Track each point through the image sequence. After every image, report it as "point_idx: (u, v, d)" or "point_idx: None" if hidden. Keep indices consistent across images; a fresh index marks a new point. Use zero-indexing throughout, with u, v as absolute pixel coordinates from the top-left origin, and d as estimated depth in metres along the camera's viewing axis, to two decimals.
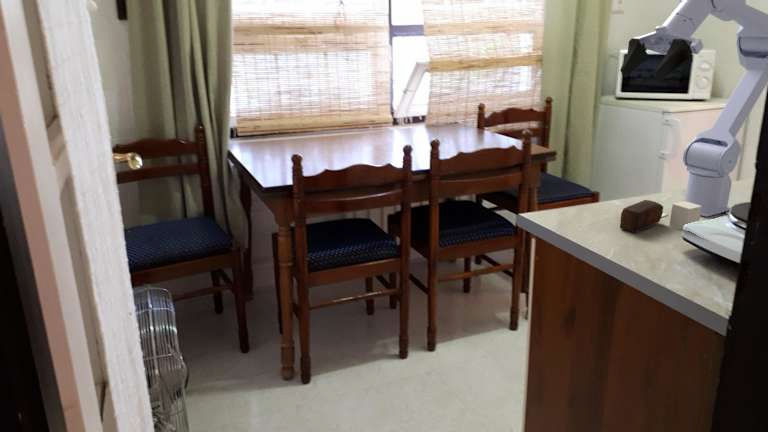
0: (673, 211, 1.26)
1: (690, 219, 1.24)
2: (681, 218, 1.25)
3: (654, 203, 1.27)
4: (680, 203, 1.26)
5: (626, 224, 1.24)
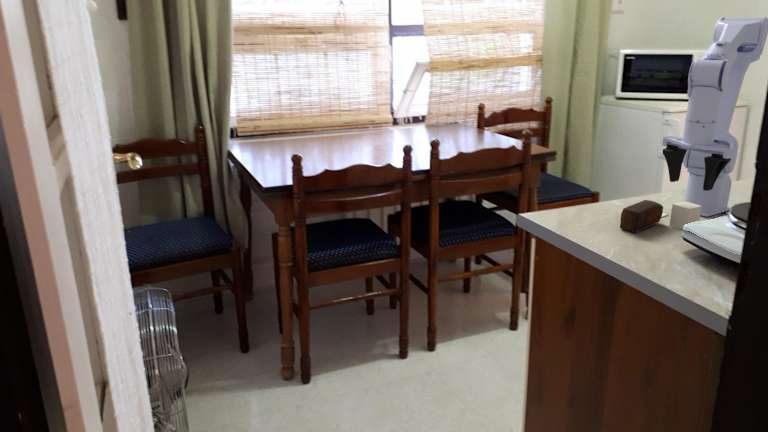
0: (673, 211, 1.26)
1: (690, 218, 1.24)
2: (681, 218, 1.25)
3: (654, 203, 1.27)
4: (680, 203, 1.26)
5: (626, 224, 1.24)
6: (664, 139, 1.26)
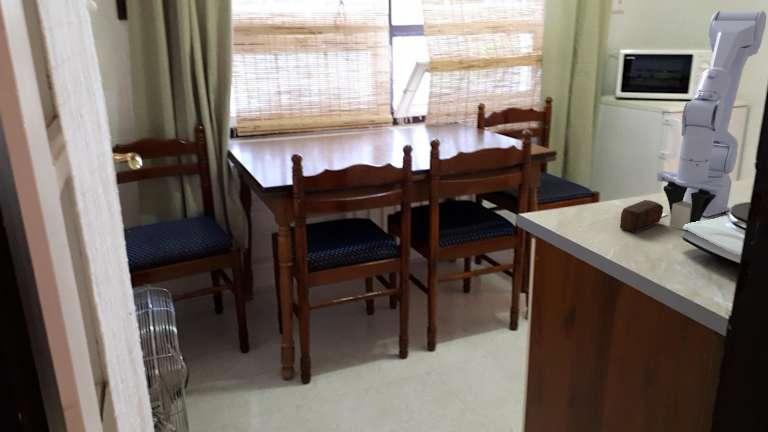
0: (673, 211, 1.26)
1: None
2: (681, 218, 1.25)
3: (654, 203, 1.27)
4: (680, 203, 1.26)
5: (626, 224, 1.24)
6: (659, 174, 1.29)
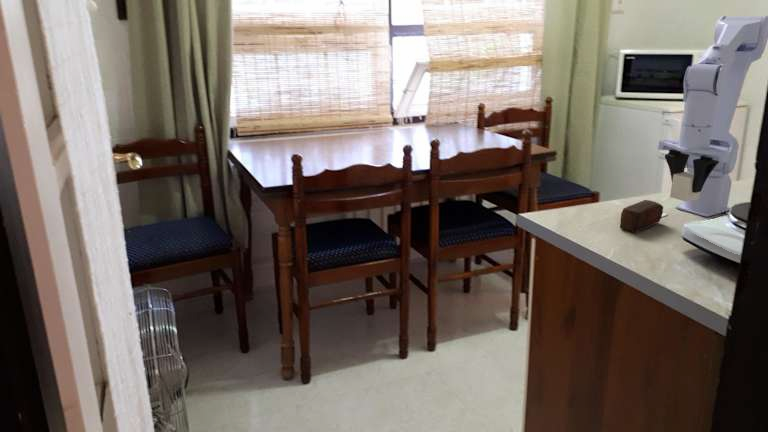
0: (674, 181, 1.24)
1: (691, 188, 1.22)
2: (682, 189, 1.23)
3: (654, 203, 1.27)
4: (681, 173, 1.24)
5: (626, 224, 1.24)
6: (660, 143, 1.26)
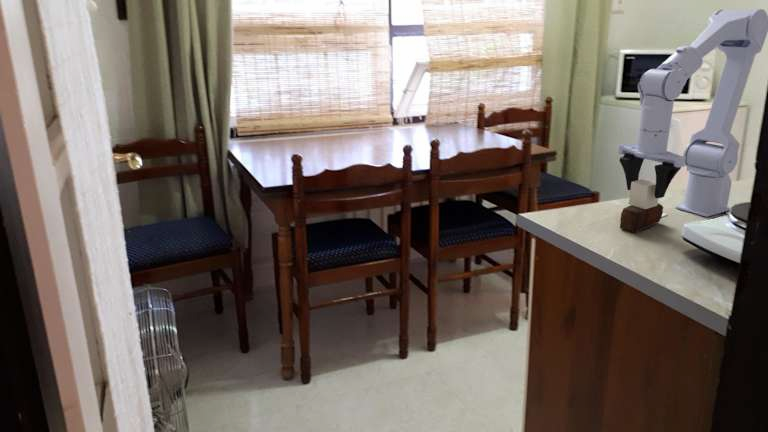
0: (632, 189, 1.25)
1: (648, 196, 1.23)
2: (640, 196, 1.24)
3: None
4: (639, 181, 1.25)
5: (626, 224, 1.24)
6: (620, 147, 1.27)
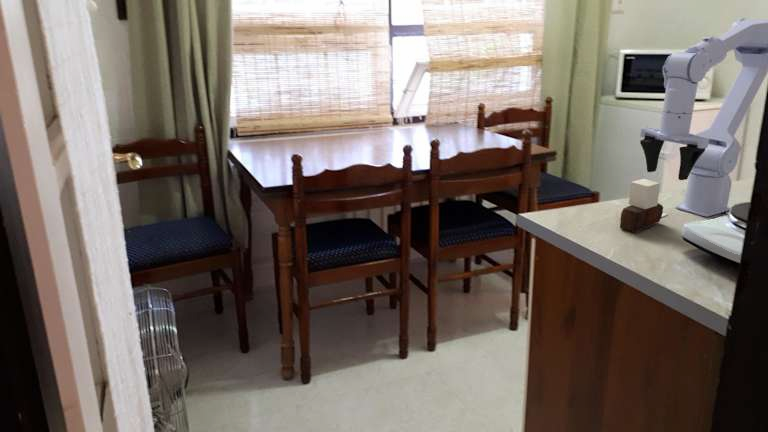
0: (632, 189, 1.25)
1: (648, 196, 1.23)
2: (640, 196, 1.24)
3: None
4: (639, 181, 1.25)
5: (626, 224, 1.24)
6: (642, 130, 1.30)
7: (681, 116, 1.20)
